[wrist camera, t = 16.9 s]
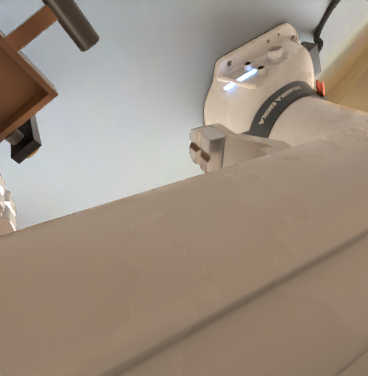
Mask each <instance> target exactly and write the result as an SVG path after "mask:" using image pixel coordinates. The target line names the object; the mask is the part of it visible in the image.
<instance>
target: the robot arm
mask: <svg viewBox="0 0 368 376" xmlns="http://www.w3.org/2000/svg"><path fill="white" fill-rule="evenodd" d="M339 2H340V0H333V2H332V3H331V4H330V6H329V7H328V9H327V11H326V13H325V14H324V16H323V18H322V20H321V22H320V24H319V26H318V28H317V30H316V32H315V35H314V39H313V40H314V42H315V43H316V44H315V43H309V42H302V43H300V40H299V37H298V34H297V32H296V31H295V29H294V28H293V27H292V26H291V25H290V24H287V23H284V24H281V25H280V26H278V27H276V28H274V29H272V30H270V31H269V32H267V33H265V34H263V35H261V36H259V37H258V38H256V39H254V40H252V41H250V42H248V43H247V44H245V45H243V46H241V47H239V48H238V49H236V50H234V51H232V52H230V53H228V54H227V55H225V56H223V57H221V58H220V59H218V61H217V62H216V65H215V69H214V78H213V83H212V85H211V88H210V90H209V92H208V95H207V98H206V101H205V106H204V121H205V125H206V126H202V127H198V128H194V129H192V130H191V131H190V139H191V141H192V143H191V145H190V146H189V150H190V156H191V159H192V160H193V162H194V163H196V164H199V165H200V168H201V169H202V170H203V171H204V172H205V174H201V175H198V176H195V177H191V178H188V179H185V180H182V181H178V182H175V183H172V184H168V185H165V186H162V187H158V188H155V189H152V190H149V191H145V192H142V193H139V194H135V195H132V196H129V197H125V198H122V199H119V200H116V201H112V202H109V203H106V204H102V205H99V206H96V207H92V208H89V209H86V210H82V211H79V212H76V213H73V214H69V215H66V216H63V217H59V218H56V219H53V220H49V221H46V222H43V223H40V224H36V225H33V226H30V227H26V228H23V229H20V230H17V221H16V219H15V217H14V216H15V215H16V207H15V203H14V200H13V197H12V195H11V193H10V192H9V191H7V190H5V181H4V180H3V178H2V176H1V174H0V376H368V112H363V111H359V110H355V109H352V108H348V107H345V106H342V105H338V104H335V103H332V102H329V101H327V95H325V92H324V83H323V81H322V82H321V84H320V82H319V81H318V80H316V87H317V92H316V91H315V90H314V77H315V76H316V75H317V74H319V73H320V72H321V68H320V60H319V52H320V51H321V49H322V47H323V40H322V39H320V38H319V37H320V34H321V31H322V28H323V26H324V24H325V22H326V21H327V19H328V17H329V16H330V14H331V13H332V11H333V10H334V8H335V7H336V6H337V4H338V3H339ZM228 62H229V65H228Z"/></svg>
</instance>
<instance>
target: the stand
mask: <svg viewBox="0 0 368 376" xmlns="http://www.w3.org/2000/svg"><path fill="white" fill-rule="evenodd" d="M17 130H19V131H20V132H21V133H22V134H23V135H24V137H23V138H22V140H21V141H20V142H19V143H17V144H16V145H12V144H11V158H12V159H13V160H14V161H16V162H17V163H19V164H20V163H21V162H22V161H23V160H25V159H26V158H29V157H31V156H33V155H34V154H35V153H36V152H37V151H38V149H39V147H40V146H41V140H40V136H39V131H38V127H37V122H36V118H35V114H34V115H33V116H32V117H31V118H30V119H28V120H27V121H26V122H25V123H23V124H22V125H21V126H20V127H19V128H17Z"/></svg>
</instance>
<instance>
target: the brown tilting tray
mask: <svg viewBox="0 0 368 376" xmlns="http://www.w3.org/2000/svg"><path fill="white" fill-rule="evenodd" d="M42 2H43V3H44V4H45V5H44V6H43V7H42V8H40V9H39V10H38V11H37V12H35V13H34V14H33V15H32V16H30V17H29V18H28V19H27V20H26V21H24V22H23V23H22V24H21V25H19V26H18V27H17V28H16V29H14V30H13V31H12V32H11V33H9V34H8V35H7V36H6V35H5V34H4V33H3V32H2V31H1V30H0V142H2V141H3V140H4V139H5V140H7V141H8V142H9V143H11V144H12V145H16V144H17V143H19V142H20V141H21V140H22V138H23V137H24V135H23V134H22V133H21V132H20V131H19V130H17V128H19V127H20V126H21V125H22V124H23V123H25V122H26V121H27V120H28V119H30V118H31V117H32V116H33V115H34V114H36V113H37V112H38V111H39V110H41V109H42V108H43V107H44V106H45V105H47V104H48V103H49V102H50V101H51V100H53V98H55V97H56V96H58V93H57V91H56V89H55V88H54V86H53V85H52V84H51V82H50V81H49V80H48V79H47V78H46V77H45V76H44V75H43V74H42V73H41V72H40V71H39V70H38V69H37V68H36V67H35V66H34V65H33V64H32V63H31V62H30V60H29V59H28V58H27V57H26V56H25V55H24V54H23V53H22V52H21V51H20V50H21V49H22V48H23V47H25V46H26V45H27V44H28V43H30V42H31V41H32V40H33V39H35V38H36V37H37V36H38V35H40V34H41V33H42V32H43V31H45V30H46V29H47V28H48V27H49V26H51V25H52V24H53V23H54V22H56V21H58V22H59V23H60V25H61V26H62V27H63V29H64V30H65V31H66V32H67V34H68V35H69V36H70V38H71V39H72V40H73V41H74V43H75V44H76V45H77V47H78V48H79V49H80V50H81V51H82V52H84V51H87V50H88V49H90V48H91V47H93V46H94V45H95V44H96V43H97V42H98V40H99V36H98V35H97V33H96V32H95V30H94V29H93V27H92V26H91V24H90V23H89V22H88V20H87V19H86V17H85V16H84V14H83V13H82V12H81V10H80V9H79V7H78V6H77V4H76V3H75V1H74V0H42Z"/></svg>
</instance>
